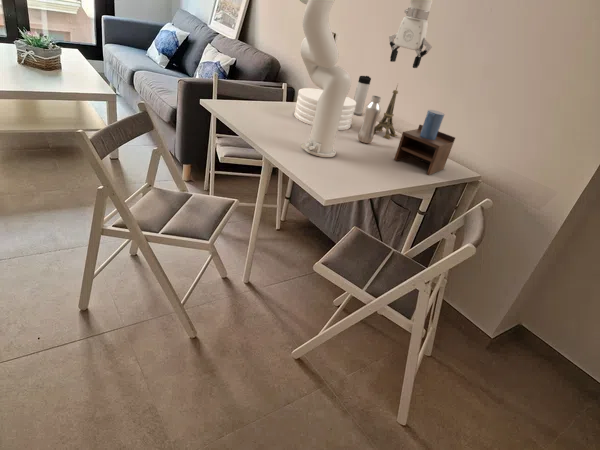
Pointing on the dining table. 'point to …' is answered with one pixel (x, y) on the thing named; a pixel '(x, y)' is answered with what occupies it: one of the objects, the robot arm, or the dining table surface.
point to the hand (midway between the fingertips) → (403, 64)
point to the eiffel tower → (388, 115)
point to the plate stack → (309, 102)
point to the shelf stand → (425, 149)
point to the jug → (431, 124)
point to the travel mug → (361, 94)
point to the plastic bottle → (370, 120)
